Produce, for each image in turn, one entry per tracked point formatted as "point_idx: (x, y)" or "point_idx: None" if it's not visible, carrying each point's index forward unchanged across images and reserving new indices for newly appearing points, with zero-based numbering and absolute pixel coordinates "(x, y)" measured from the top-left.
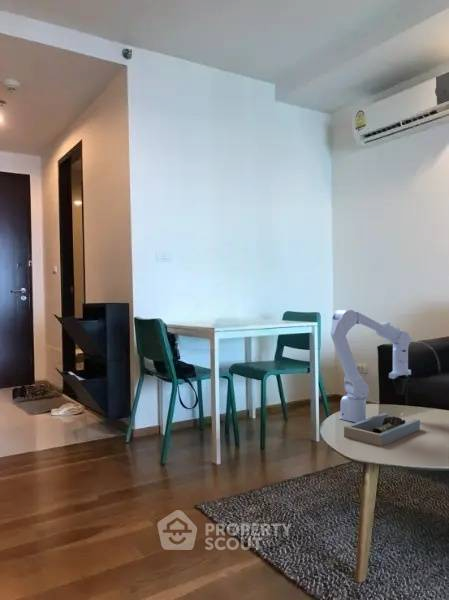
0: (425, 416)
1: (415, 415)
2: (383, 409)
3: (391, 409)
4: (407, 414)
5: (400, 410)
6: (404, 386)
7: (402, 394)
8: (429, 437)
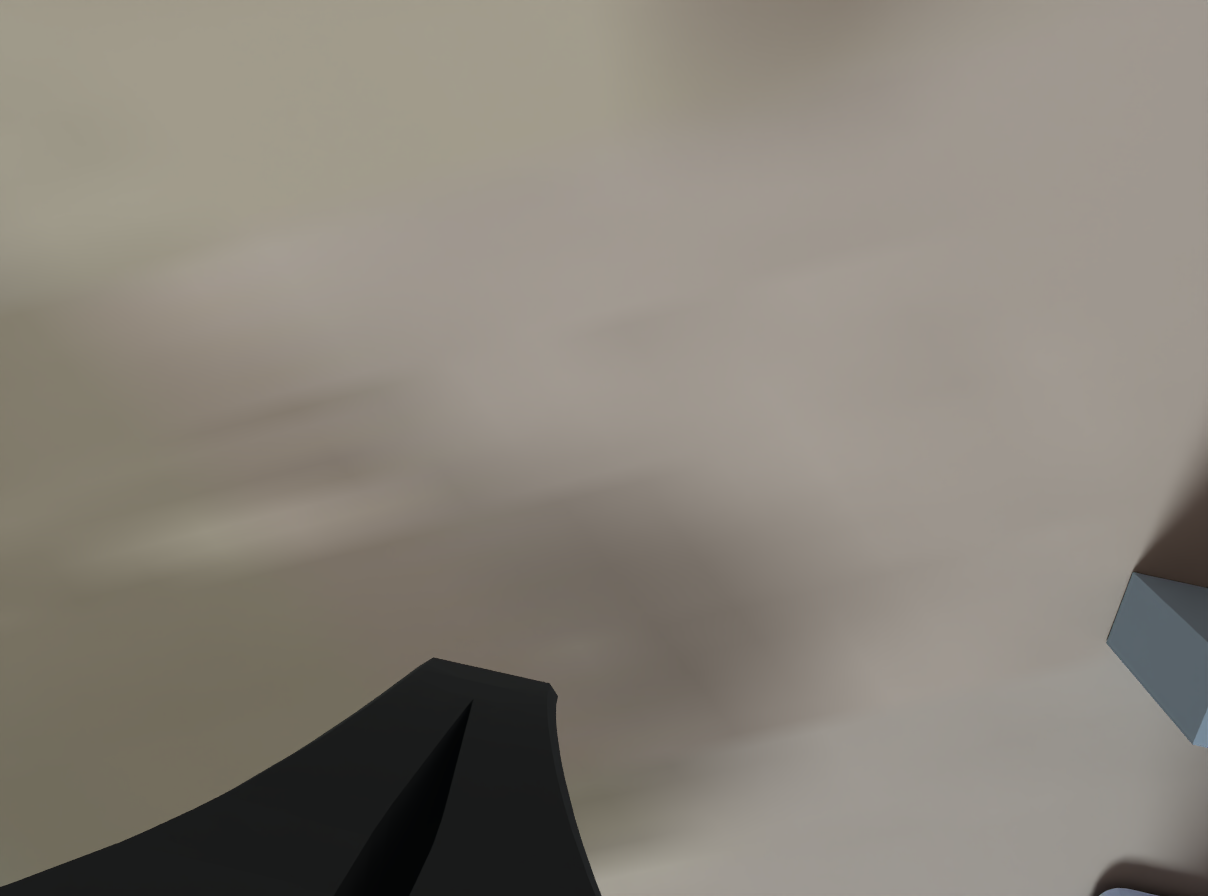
0: (131, 47)
1: (195, 258)
2: None
3: (60, 762)
4: (226, 419)
5: (12, 609)
6: (359, 820)
7: (501, 674)
8: None
